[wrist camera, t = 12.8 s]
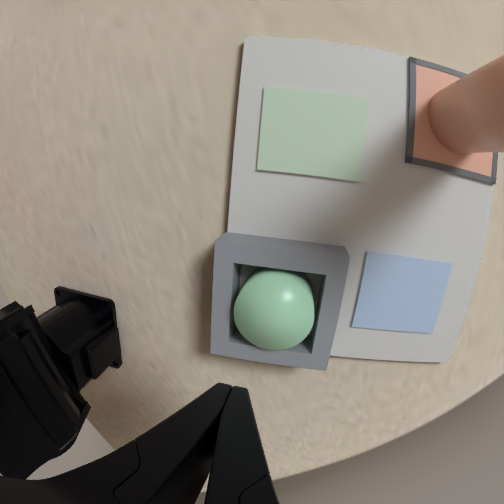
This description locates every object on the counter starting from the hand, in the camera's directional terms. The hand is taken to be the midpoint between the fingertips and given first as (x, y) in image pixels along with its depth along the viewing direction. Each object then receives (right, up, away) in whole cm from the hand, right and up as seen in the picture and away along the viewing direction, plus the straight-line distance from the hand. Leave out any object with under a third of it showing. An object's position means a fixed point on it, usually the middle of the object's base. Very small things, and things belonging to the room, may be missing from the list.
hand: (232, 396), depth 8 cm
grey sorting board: (+8, +7, +10) cm, 14 cm away
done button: (+2, +1, +11) cm, 12 cm away
